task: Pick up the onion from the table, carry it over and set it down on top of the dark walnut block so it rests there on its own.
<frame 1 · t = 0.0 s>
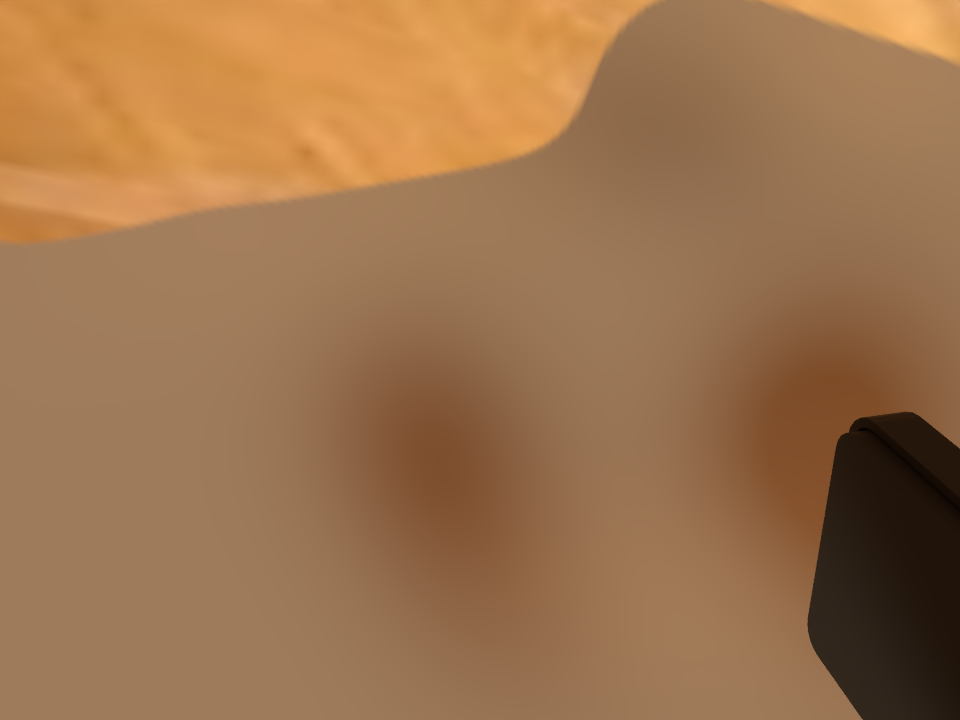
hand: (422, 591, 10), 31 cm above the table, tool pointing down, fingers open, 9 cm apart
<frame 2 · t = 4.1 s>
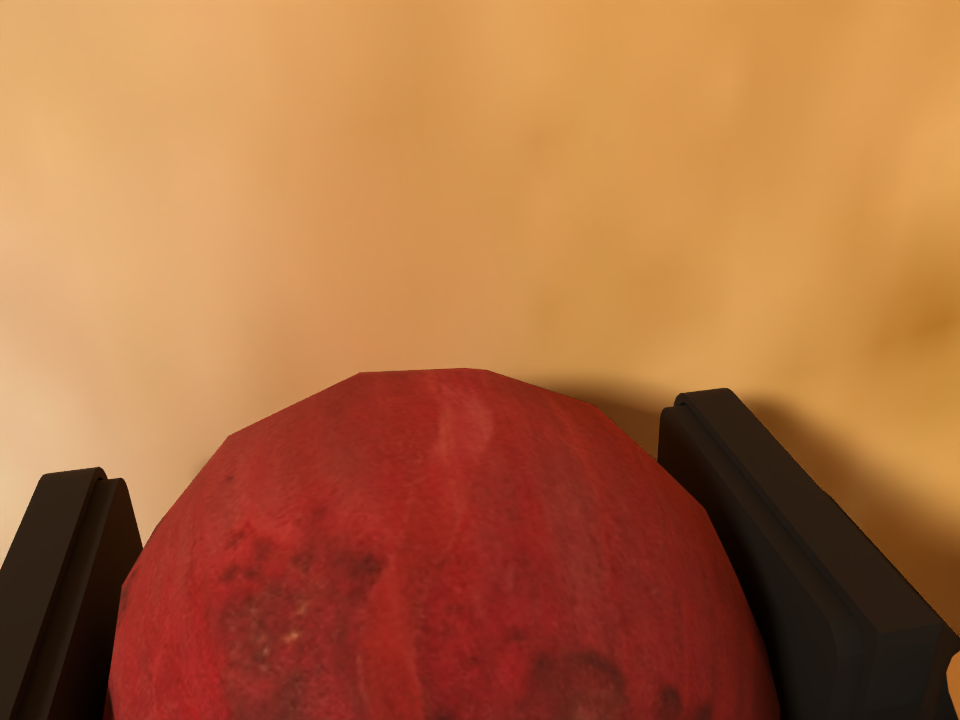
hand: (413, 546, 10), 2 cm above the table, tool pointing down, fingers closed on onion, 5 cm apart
onion: (396, 460, 12), on the table, touching gripper
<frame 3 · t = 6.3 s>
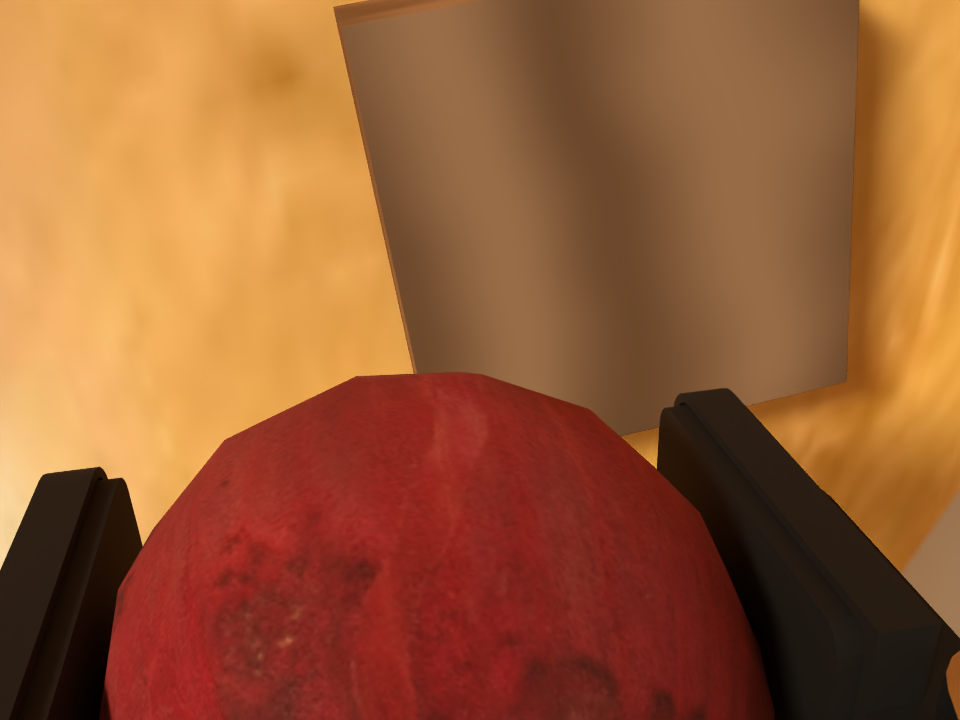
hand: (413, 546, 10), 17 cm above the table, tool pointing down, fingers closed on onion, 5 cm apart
onion: (393, 463, 12), point 16 cm above the table, touching gripper
walnut block: (576, 178, 27), on the table
when the fingers open (8 cm above the table, at t = 9.0 s): onion drops 2 cm, resting on walnut block.
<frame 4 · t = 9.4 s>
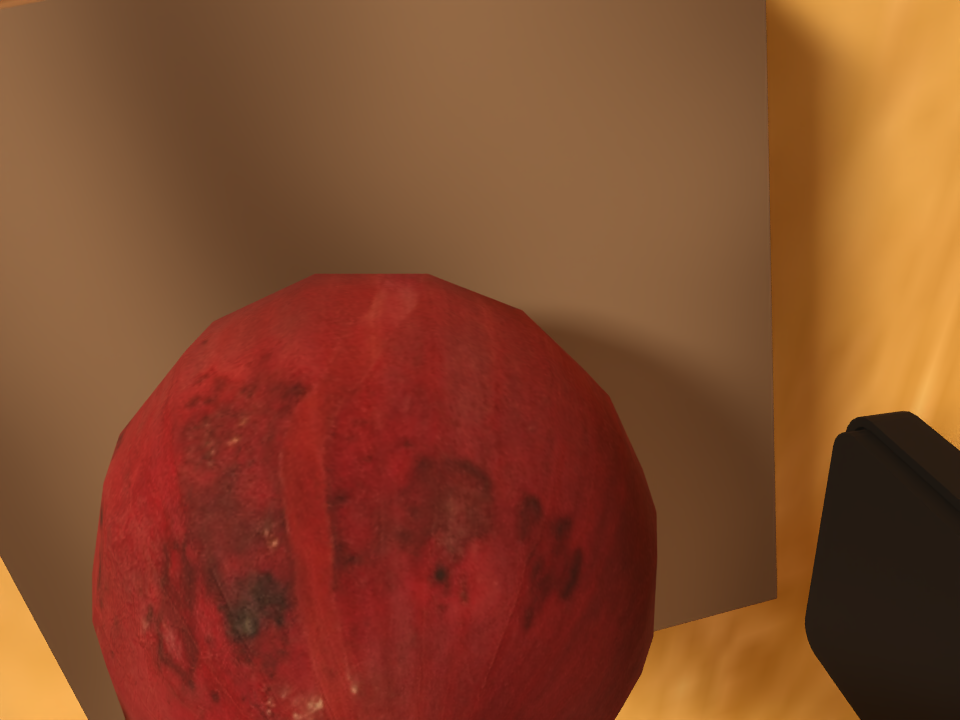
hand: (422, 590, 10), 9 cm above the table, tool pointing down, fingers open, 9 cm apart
onion: (380, 386, 13), point 4 cm above the table, touching walnut block
walnut block: (361, 274, 18), on the table, touching onion
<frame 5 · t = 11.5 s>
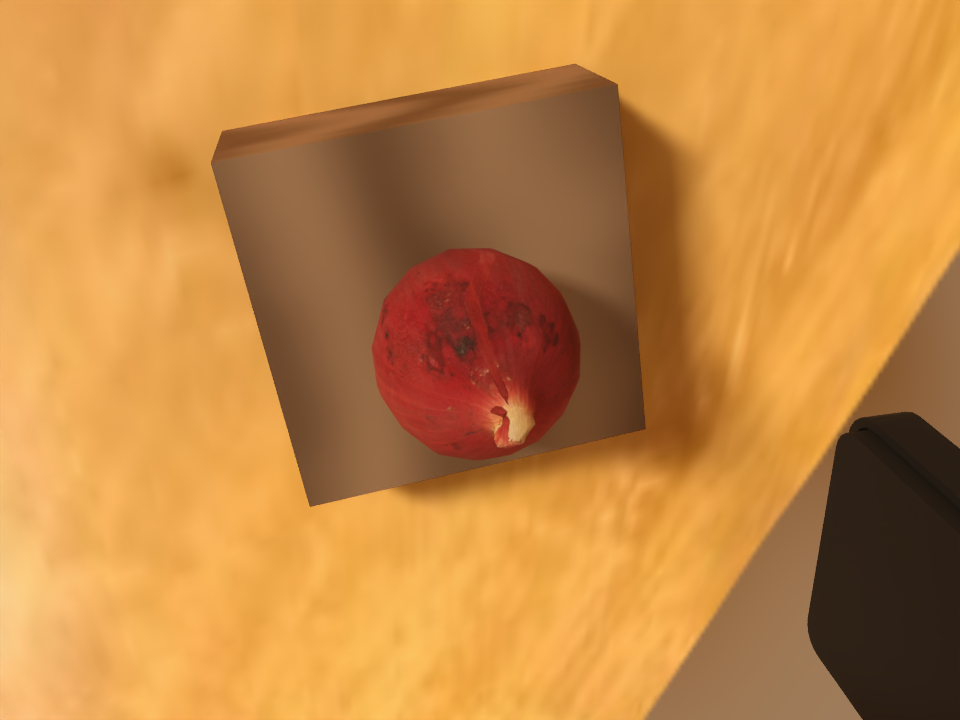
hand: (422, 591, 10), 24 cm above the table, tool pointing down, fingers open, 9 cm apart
onion: (448, 304, 29), point 4 cm above the table, touching walnut block
walnut block: (431, 260, 33), on the table, touching onion
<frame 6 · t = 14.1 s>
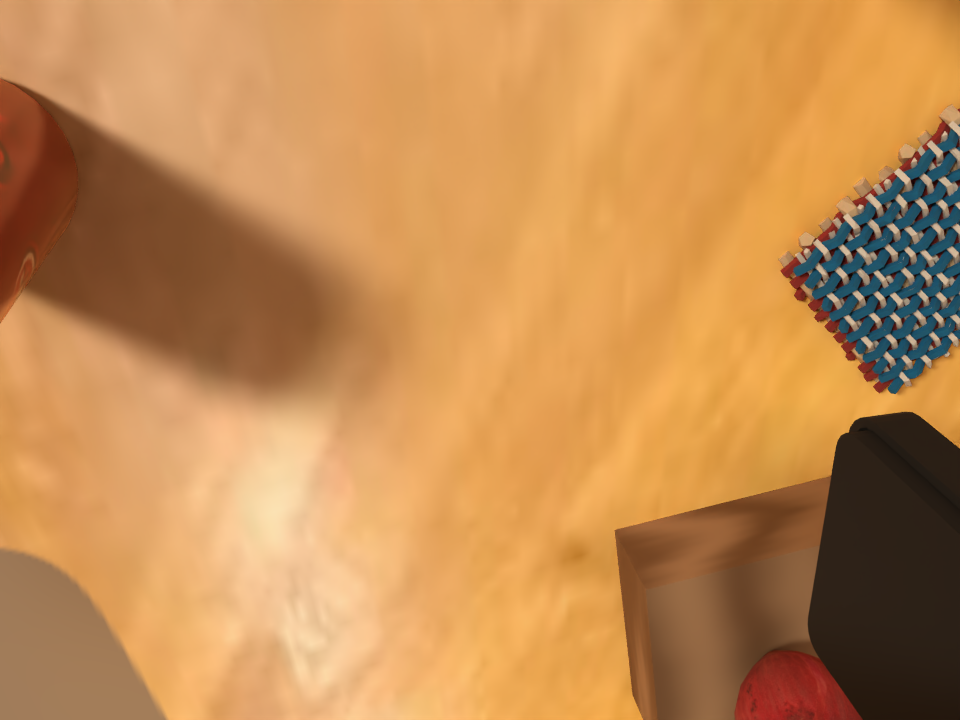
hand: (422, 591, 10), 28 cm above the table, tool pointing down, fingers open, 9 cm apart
onion: (769, 649, 46), point 5 cm above the table, touching walnut block
walnut block: (726, 584, 50), on the table, touching onion
woven mat: (903, 250, 43), on the table
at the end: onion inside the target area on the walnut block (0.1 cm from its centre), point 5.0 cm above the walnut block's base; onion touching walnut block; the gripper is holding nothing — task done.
